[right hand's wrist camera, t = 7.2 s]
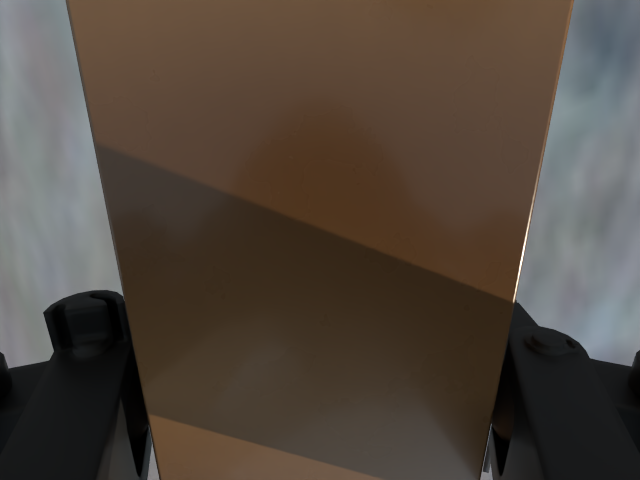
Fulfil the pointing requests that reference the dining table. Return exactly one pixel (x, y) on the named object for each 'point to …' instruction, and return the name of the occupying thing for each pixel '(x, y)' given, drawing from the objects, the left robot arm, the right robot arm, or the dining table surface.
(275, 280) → the bar
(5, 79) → the dining table surface
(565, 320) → the dining table surface
